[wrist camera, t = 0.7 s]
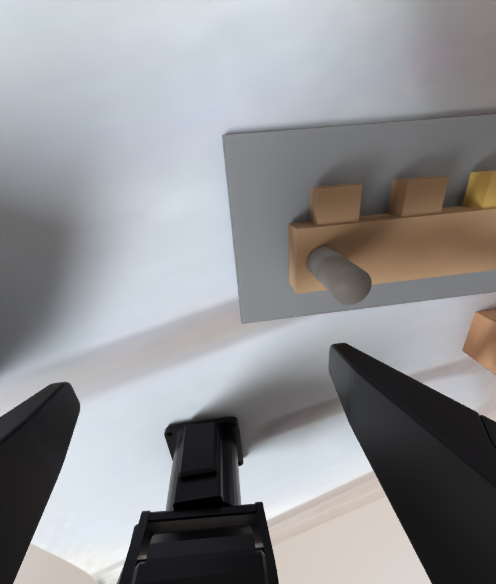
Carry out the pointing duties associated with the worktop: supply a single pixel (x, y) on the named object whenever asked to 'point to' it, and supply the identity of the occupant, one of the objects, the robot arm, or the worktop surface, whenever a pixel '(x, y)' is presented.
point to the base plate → (333, 171)
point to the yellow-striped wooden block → (483, 339)
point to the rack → (392, 236)
